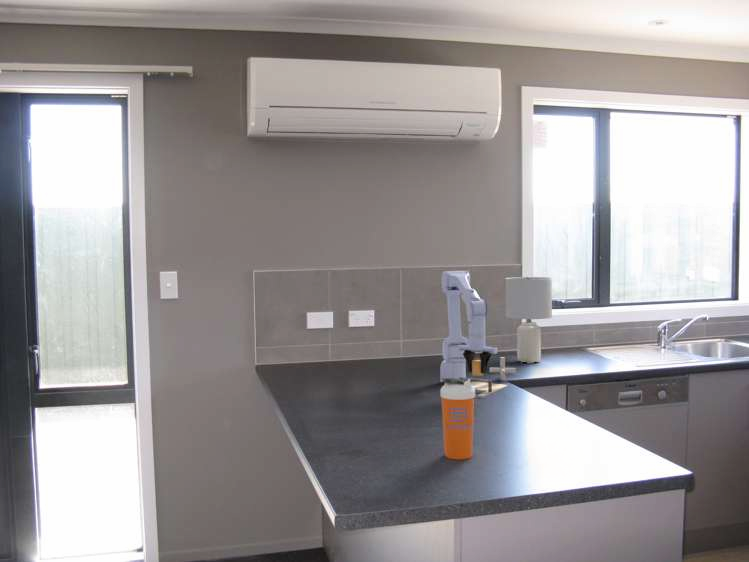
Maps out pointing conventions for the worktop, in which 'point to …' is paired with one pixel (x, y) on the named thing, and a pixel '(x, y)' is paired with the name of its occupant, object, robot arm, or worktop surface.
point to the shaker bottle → (458, 417)
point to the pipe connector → (502, 369)
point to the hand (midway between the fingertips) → (477, 372)
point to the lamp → (529, 312)
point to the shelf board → (485, 386)
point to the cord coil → (476, 368)
